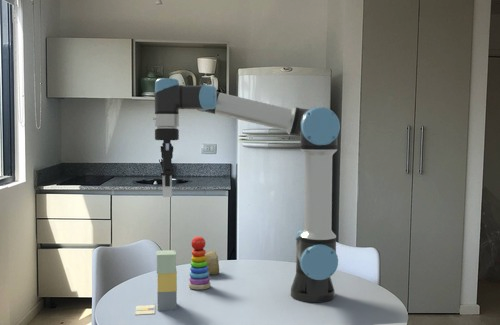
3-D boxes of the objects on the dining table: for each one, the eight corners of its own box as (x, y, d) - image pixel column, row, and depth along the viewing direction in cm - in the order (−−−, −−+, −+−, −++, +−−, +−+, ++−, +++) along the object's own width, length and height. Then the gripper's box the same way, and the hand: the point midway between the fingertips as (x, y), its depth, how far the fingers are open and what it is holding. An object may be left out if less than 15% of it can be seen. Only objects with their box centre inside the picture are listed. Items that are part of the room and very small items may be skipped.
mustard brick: (176, 285, 174) (176, 267, 174) (176, 291, 168) (176, 272, 168) (157, 286, 173) (157, 268, 173) (157, 292, 167) (157, 273, 167)
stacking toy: (199, 282, 198) (199, 233, 197) (215, 287, 193) (215, 236, 192) (184, 287, 192) (184, 236, 191) (199, 291, 187) (199, 239, 186)
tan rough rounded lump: (228, 259, 206) (205, 250, 204) (217, 282, 207) (194, 273, 204) (225, 252, 215) (203, 243, 213) (215, 274, 216) (192, 265, 214)
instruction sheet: (154, 305, 172) (154, 304, 172) (154, 313, 164) (154, 312, 164) (136, 306, 171) (136, 305, 171) (135, 314, 163) (135, 314, 163)
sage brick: (175, 268, 173) (175, 250, 173) (176, 273, 168) (176, 254, 167) (156, 268, 172) (156, 250, 172) (156, 273, 166) (156, 255, 166)
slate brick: (176, 303, 174) (176, 285, 174) (176, 309, 169) (176, 291, 168) (157, 304, 173) (157, 286, 173) (157, 310, 168) (157, 292, 167)
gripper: (155, 128, 179) (155, 190, 180) (154, 127, 155) (154, 199, 156) (177, 128, 180) (177, 189, 182) (180, 127, 156) (180, 199, 157)
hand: (167, 194), depth 169 cm, fingers open, 13 cm apart
